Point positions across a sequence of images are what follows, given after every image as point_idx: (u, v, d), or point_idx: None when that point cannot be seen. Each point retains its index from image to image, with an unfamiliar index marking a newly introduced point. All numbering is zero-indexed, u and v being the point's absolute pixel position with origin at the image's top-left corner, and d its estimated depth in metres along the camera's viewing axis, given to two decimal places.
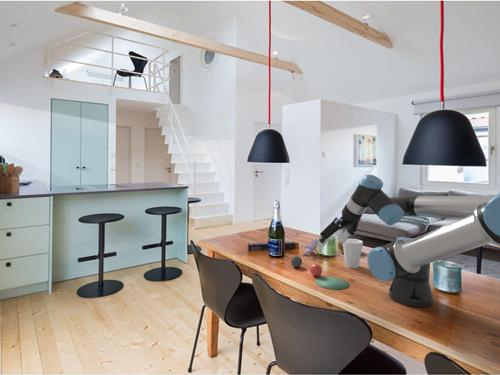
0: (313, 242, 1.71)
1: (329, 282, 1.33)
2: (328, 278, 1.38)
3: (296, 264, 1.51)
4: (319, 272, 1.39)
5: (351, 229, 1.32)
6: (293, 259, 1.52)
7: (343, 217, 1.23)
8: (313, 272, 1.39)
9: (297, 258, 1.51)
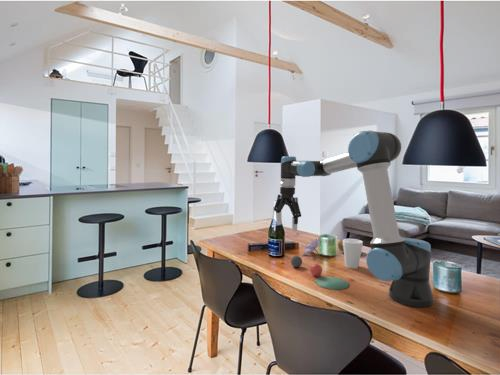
0: (313, 242, 1.71)
1: (329, 282, 1.33)
2: (328, 278, 1.38)
3: (296, 264, 1.51)
4: (319, 272, 1.39)
5: None
6: (293, 259, 1.52)
7: (292, 195, 1.55)
8: (313, 272, 1.39)
9: (297, 258, 1.51)
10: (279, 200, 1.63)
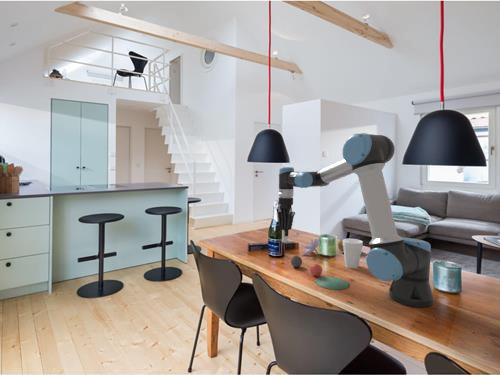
0: (313, 242, 1.71)
1: (329, 282, 1.33)
2: (328, 278, 1.38)
3: (296, 264, 1.51)
4: (319, 272, 1.39)
5: None
6: (293, 259, 1.52)
7: (290, 205, 1.56)
8: (313, 272, 1.39)
9: (297, 258, 1.51)
10: (280, 214, 1.63)
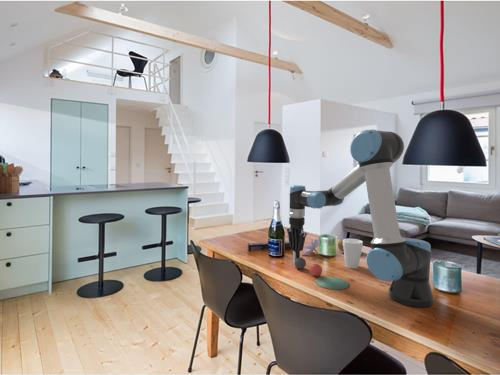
0: (313, 242, 1.71)
1: (329, 282, 1.33)
2: (328, 278, 1.38)
3: (299, 267, 1.49)
4: (319, 272, 1.39)
5: None
6: (298, 262, 1.49)
7: (301, 226, 1.49)
8: (313, 272, 1.39)
9: (302, 262, 1.48)
10: (290, 234, 1.56)
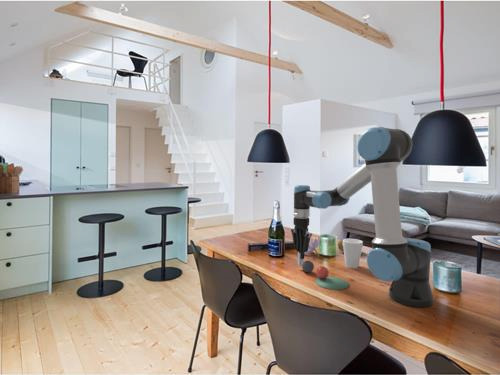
0: (312, 242, 1.71)
1: (329, 282, 1.33)
2: (328, 278, 1.38)
3: None
4: None
5: None
6: (305, 270, 1.44)
7: (306, 226, 1.46)
8: (317, 275, 1.37)
9: None
10: (295, 234, 1.53)
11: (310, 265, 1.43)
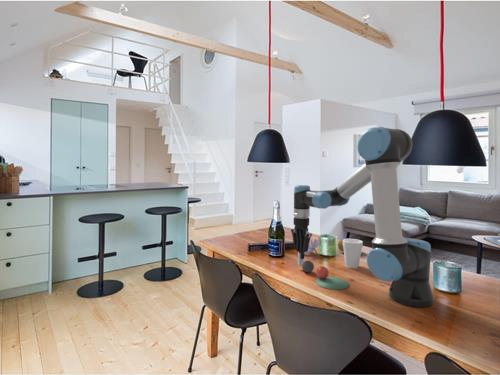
0: (312, 242, 1.71)
1: (329, 282, 1.33)
2: (328, 278, 1.38)
3: None
4: None
5: None
6: (305, 270, 1.44)
7: (306, 226, 1.46)
8: (317, 275, 1.37)
9: None
10: (295, 234, 1.53)
11: (310, 265, 1.43)
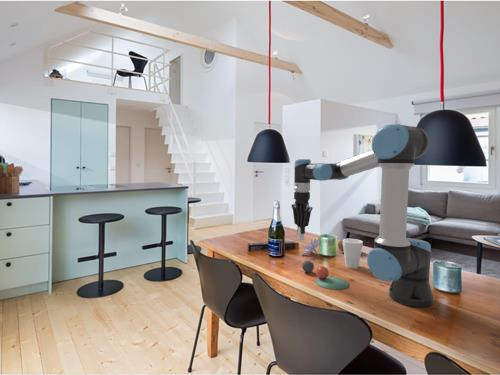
0: (312, 242, 1.71)
1: (329, 282, 1.33)
2: (328, 278, 1.38)
3: None
4: None
5: None
6: (305, 270, 1.44)
7: (307, 200, 1.45)
8: (317, 275, 1.37)
9: None
10: (295, 209, 1.52)
11: (310, 265, 1.43)
